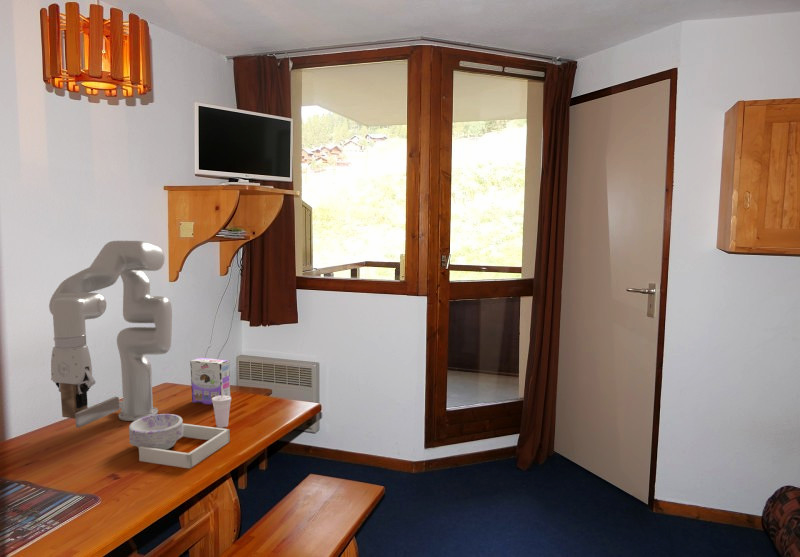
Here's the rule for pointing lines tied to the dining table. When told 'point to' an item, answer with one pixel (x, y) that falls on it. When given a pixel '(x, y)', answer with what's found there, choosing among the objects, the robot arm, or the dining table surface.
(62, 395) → the scraper
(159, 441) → the paper bowls
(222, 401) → the smoothie
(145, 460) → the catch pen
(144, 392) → the robot arm
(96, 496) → the dining table surface
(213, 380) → the candy box
